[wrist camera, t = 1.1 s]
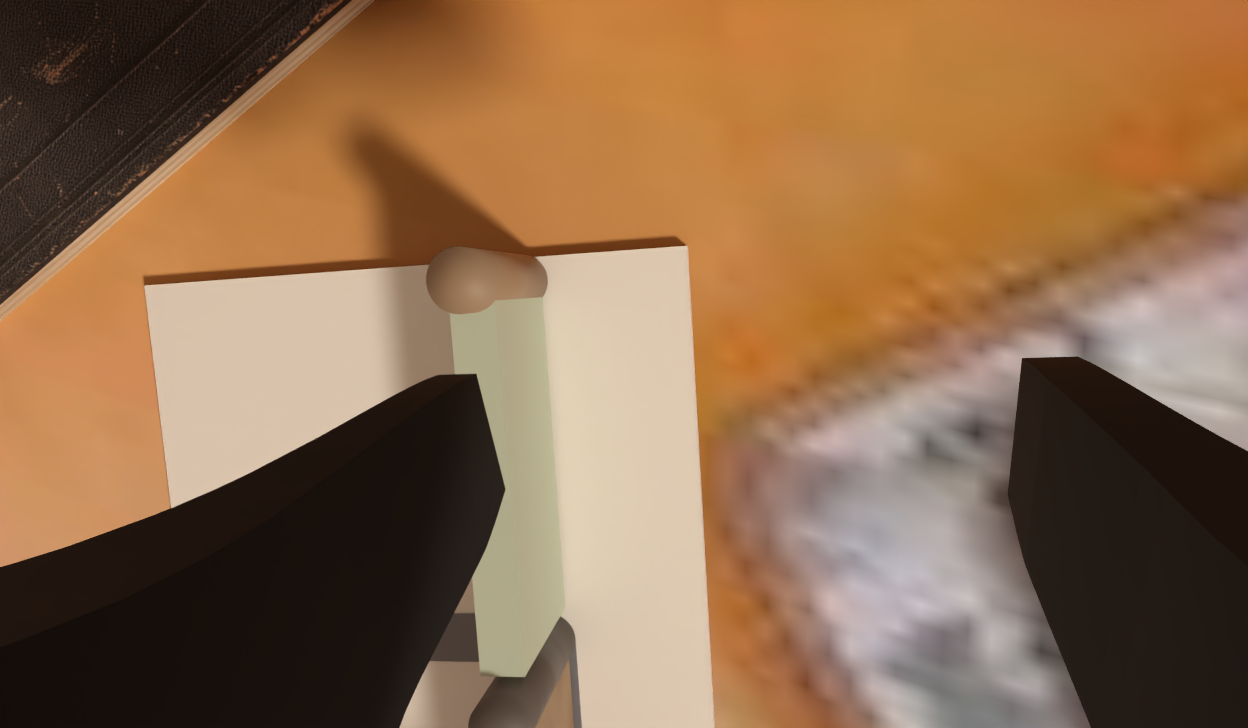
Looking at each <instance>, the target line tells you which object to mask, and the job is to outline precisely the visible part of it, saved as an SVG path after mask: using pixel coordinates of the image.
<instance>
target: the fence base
mask: <svg viewBox="0 0 1248 728" xmlns="http://www.w3.org/2000/svg"><path fill="white" fill-rule="evenodd" d="M574 646H575V633H574V630H573V628H572V627H571V625H570V624H569V623H568V622H567V621H566V620H565V619H564V618H562V617H560V618H559V619H558V621H557V623H556V624H555V626H554V628H553V630H552V631H551V633H550V635H549V636H548V638H547V640H546V642H545V643H544V645H543V647H542V649H541V650H540V652H539V654H538V655H537V657H536V659H535V661H534V662H533V664H532V666H531V667H530V669H529V671H528V673H527V674H526V676H525V677H495V678H494V680H493V681H492V683H491V684H490V686H489V687H488V689H487V690H486V692H485V693H484V695H483V696H482V698H481V700H480V701H479V703H478V704H477V706H476V707H475V709H474V710H473V712H472V713H471V716H470V718H469V723H468V728H574V718H573V704H572V690H571V677H570V663H569V658H570V656H571V654H572V652H573V649H574Z"/></svg>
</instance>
